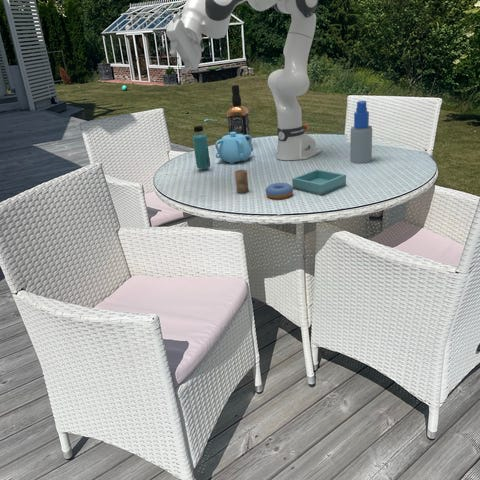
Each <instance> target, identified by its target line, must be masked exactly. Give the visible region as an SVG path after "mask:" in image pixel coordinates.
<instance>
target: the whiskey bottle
mask: <svg viewBox="0 0 480 480" xmlns="http://www.w3.org/2000/svg"><path fill="white" fill-rule="evenodd" d="M231 93H232V96H231V102H232V106H231V107H230V108H229V109H228V110H227V111H226V116H227V120H228V121H227V122H228V135H230V132H236V134H241V135H250V136H251V132H250V131H251V130H250V122H249V121H250V120H249V119H250V118H249V108H248V107H246V106H244V105H242V97H241V95H240V94H241V93H240V85H239V84H234V85H231ZM245 138H246V140H247V141H248V143H249V137H245ZM252 144H253V142H252V143H251V146H252V147H253V145H252Z"/></svg>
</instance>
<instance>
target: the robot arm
mask: <svg viewBox="0 0 480 480" xmlns="http://www.w3.org/2000/svg"><path fill="white" fill-rule="evenodd" d="M245 2H248V4H249V6H250V7H252V9H254V10H255V11H258V12H264V11H266V10H268V9H270V8H271V7H273V8H274V10H275V11H276V12H277V13H279V14H284V15H285V14H287V15H290V17H291V23H290V26H289V29H288V31H287V36H286V40H285V42H284V48H283V56H284V68H279V69H275V70H274V71H272V72H271V73H270V74H269V76H268V78H267V86H268V88H269V89H270V91H271V94H272V97H273V100H274V105H275V109H276V115H277V116H276V117H277V127H276V129H277V130H276V133H277V134H276V135H277V148H276V149H277V151H276V157H275V158H276V159H277V160H281V161H297V160H307V159H309V158H311V157H315V155H317V154H319V153H321V152H322V150H321V149H320V148H318V147H317V145H316V141H315V139H314V138H313V137H311V136H310V135H308V134H307V133H306V131H307V130H309V129H310V128H309V127H310V126H309V125H306V124H305V125H303V119H302V117H303V116H302V115H303V114H302V107H301V105H300V104H299V101H298V99H297V97H299V96H302V95H305V93H306V92H308V90H309V87H310V78H309V76H308V60H309V55H310V51H311V47H312V43H313V40H314V36H315V31H316V24H317V15H316V13H315V12H316V11H317V7H318V5H319V0H186V1H185V4H184V5H183V8H182V11H181V16H180V14H177V13H175V14H173V17H172V19H171V20H170V22H169V23H168V25H167V27H166V36H167V38H168V40H169V41H170V43H169V44H170V46H169V47H170V51H169V54H170V55H171V57H176V56H177V55H179V58H180V59H181V60H182V62H183V64H184V66H182V67H181V70H180V71H181V72H182V74H188V71H195V70H197V69H198V68H199V65H200V63H201V59H202V52H204V50H205V46H204V42H203V37H202V35H204V36H206V37H208V38H211V39H214V40H220V39H223V38H224V37H225V36H226V35H227V33H228V30H229V27H230V21H231V18H232V13H233V12H234V10H235V8H236V7H237V6H238V5H240V4H242V3H245Z"/></svg>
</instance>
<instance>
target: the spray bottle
mask: <svg viewBox="0 0 480 480" xmlns="http://www.w3.org/2000/svg"><path fill="white" fill-rule="evenodd" d="M369 118H370V112H369V111H368V107H367V101H365V100H360V101H359V100H358V101H357V102H356V109H355V111H354V112H353V126H351V128H350V146H349V147H350V152H349V153H350V156H349V157H350V163H351V164H358V165H359V164H361V165H363V164H368V163H371V162H372V160H373V159H372V157H373V155H372V154H373V151H372V150H373V126H371V125H370V124H369V121H370V119H369Z"/></svg>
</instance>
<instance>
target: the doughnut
mask: <svg viewBox="0 0 480 480" xmlns="http://www.w3.org/2000/svg"><path fill="white" fill-rule="evenodd" d="M293 193H294V189H293V185H291V184H289V183H287V182H275V183H271V184H269V185H268V186H266V188H265V194H266V196H267V197H268V198H269V199H273V200H283V199H286V198H289V197H291V196H292V195H293Z"/></svg>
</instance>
